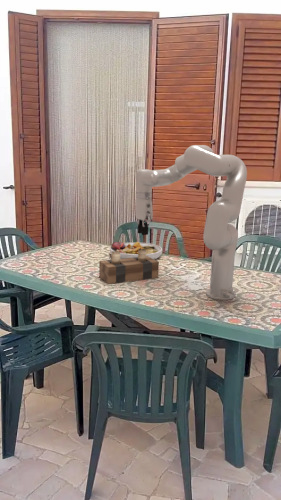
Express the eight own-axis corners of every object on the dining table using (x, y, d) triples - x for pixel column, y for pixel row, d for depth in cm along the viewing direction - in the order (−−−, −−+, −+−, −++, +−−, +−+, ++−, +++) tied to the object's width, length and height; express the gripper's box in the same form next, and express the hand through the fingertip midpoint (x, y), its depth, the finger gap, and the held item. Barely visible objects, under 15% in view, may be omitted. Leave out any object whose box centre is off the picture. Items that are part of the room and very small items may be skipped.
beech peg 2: (147, 265, 220) (147, 250, 218) (140, 266, 218) (140, 251, 216) (143, 263, 224) (144, 248, 222) (136, 264, 222) (136, 249, 220)
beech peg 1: (121, 268, 214) (121, 252, 212) (113, 269, 212) (113, 253, 210) (117, 266, 217) (118, 250, 216) (110, 267, 216) (110, 251, 214)
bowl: (163, 251, 273) (163, 238, 271) (160, 264, 244) (160, 250, 242) (114, 249, 276) (114, 236, 274) (105, 262, 247) (105, 248, 245)
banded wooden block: (158, 277, 220) (158, 261, 218) (108, 284, 208) (108, 267, 206) (147, 271, 230) (147, 256, 228) (99, 276, 219) (99, 260, 217)
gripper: (159, 197, 207) (157, 236, 212) (143, 193, 222) (142, 230, 226) (144, 198, 204) (143, 237, 208) (129, 194, 218) (128, 231, 223)
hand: (142, 233), depth 217 cm, fingers open, 3 cm apart
